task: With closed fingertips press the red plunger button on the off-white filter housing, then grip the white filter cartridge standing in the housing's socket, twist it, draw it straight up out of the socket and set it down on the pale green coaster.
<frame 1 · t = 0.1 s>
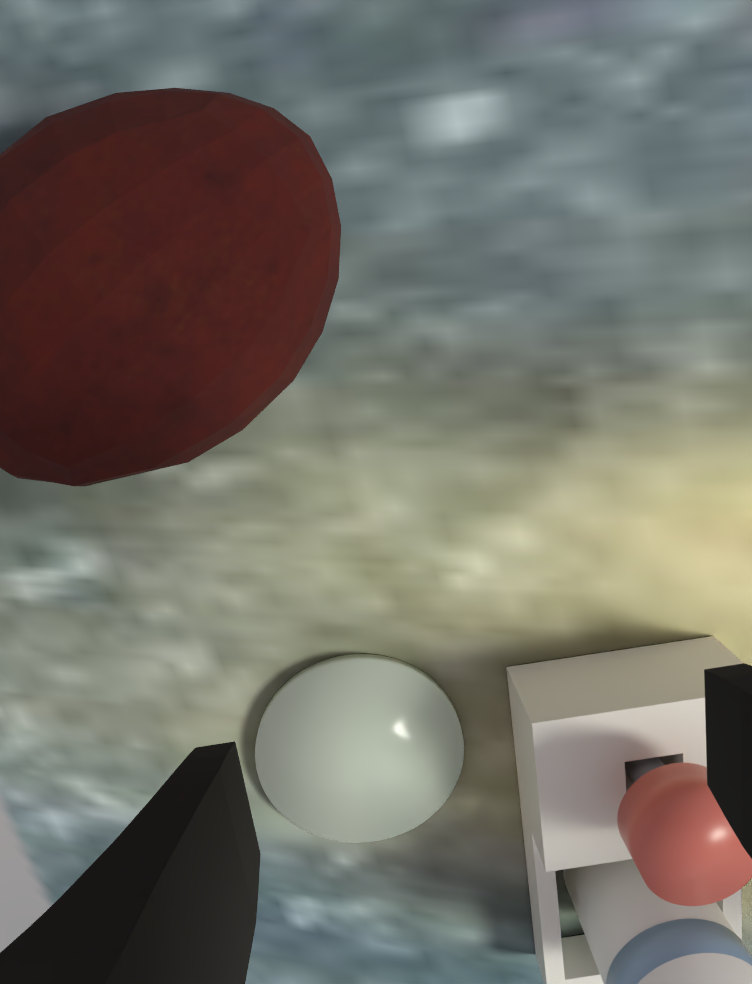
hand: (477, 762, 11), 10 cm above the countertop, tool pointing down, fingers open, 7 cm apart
coaster: (359, 747, 22), on the countertop
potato: (169, 299, 19), on the countertop
housing: (622, 866, 24), on the countertop
plunger: (666, 800, 19), point 4 cm above the countertop, slide at 0.0 cm
cartridge: (622, 865, 24), resting in housing
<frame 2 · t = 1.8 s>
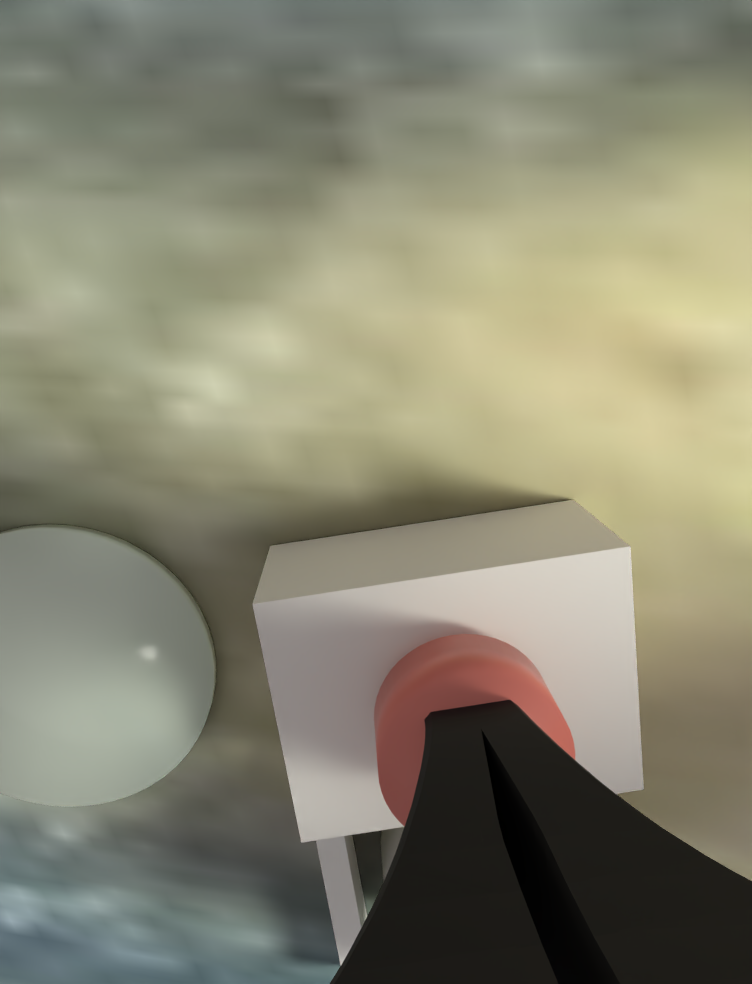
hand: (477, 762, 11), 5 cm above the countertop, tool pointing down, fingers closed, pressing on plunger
coaster: (66, 666, 15), on the countertop
housing: (464, 841, 17), on the countertop
plunger: (457, 699, 12), point 3 cm above the countertop, slide at 0.8 cm, touching gripper
cartridge: (464, 840, 17), resting in housing
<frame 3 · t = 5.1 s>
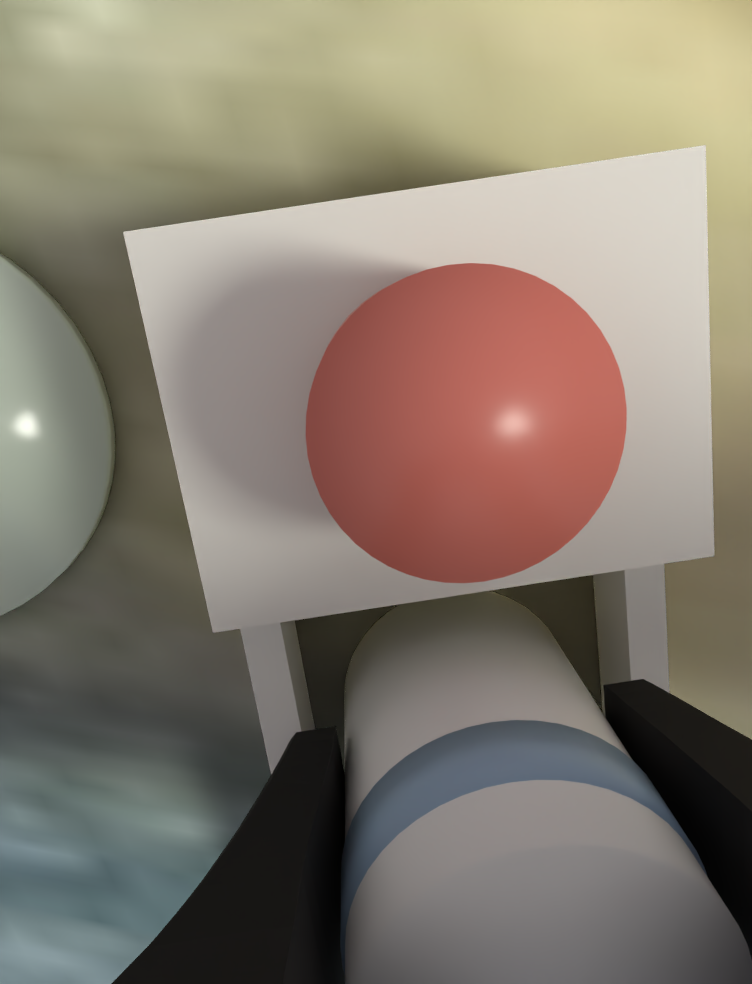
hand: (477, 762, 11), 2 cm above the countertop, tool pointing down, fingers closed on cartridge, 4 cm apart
housing: (456, 692, 13), on the countertop
plunger: (440, 405, 8), point 3 cm above the countertop, slide at 0.8 cm
cartridge: (456, 692, 13), resting in housing, touching gripper
when the fingers open (4 cm above the countertop, at t = 8.8 s): cartridge drops 1 cm, resting on coaster.
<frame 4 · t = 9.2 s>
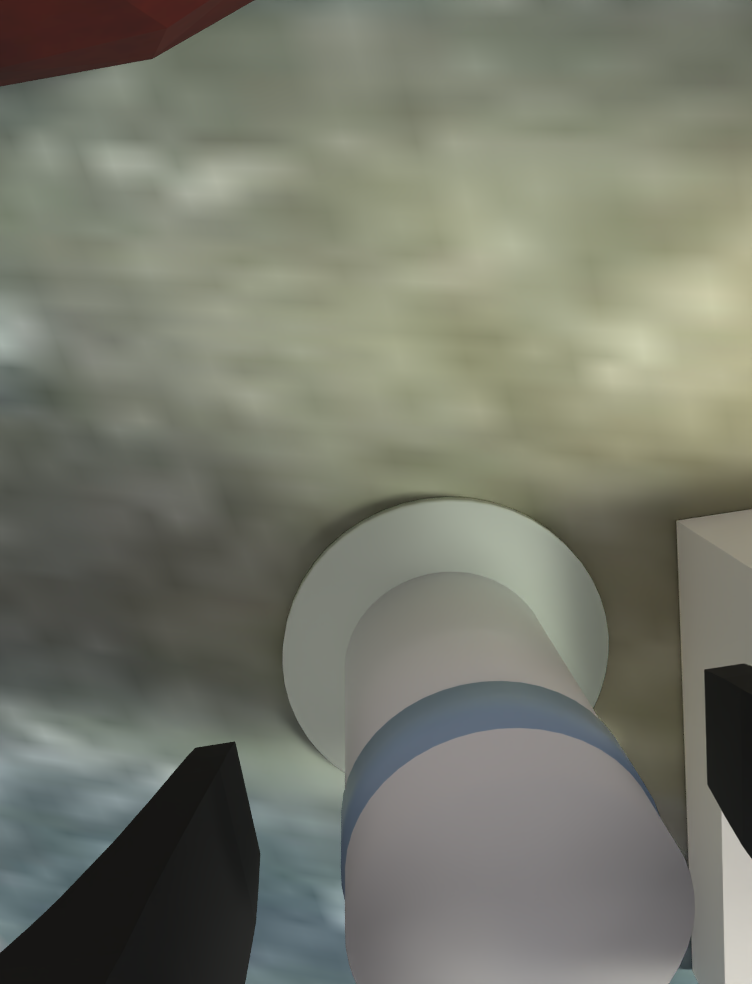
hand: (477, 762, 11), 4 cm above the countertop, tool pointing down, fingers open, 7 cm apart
coaster: (444, 650, 14), on the countertop
cartridge: (446, 667, 14), resting on coaster
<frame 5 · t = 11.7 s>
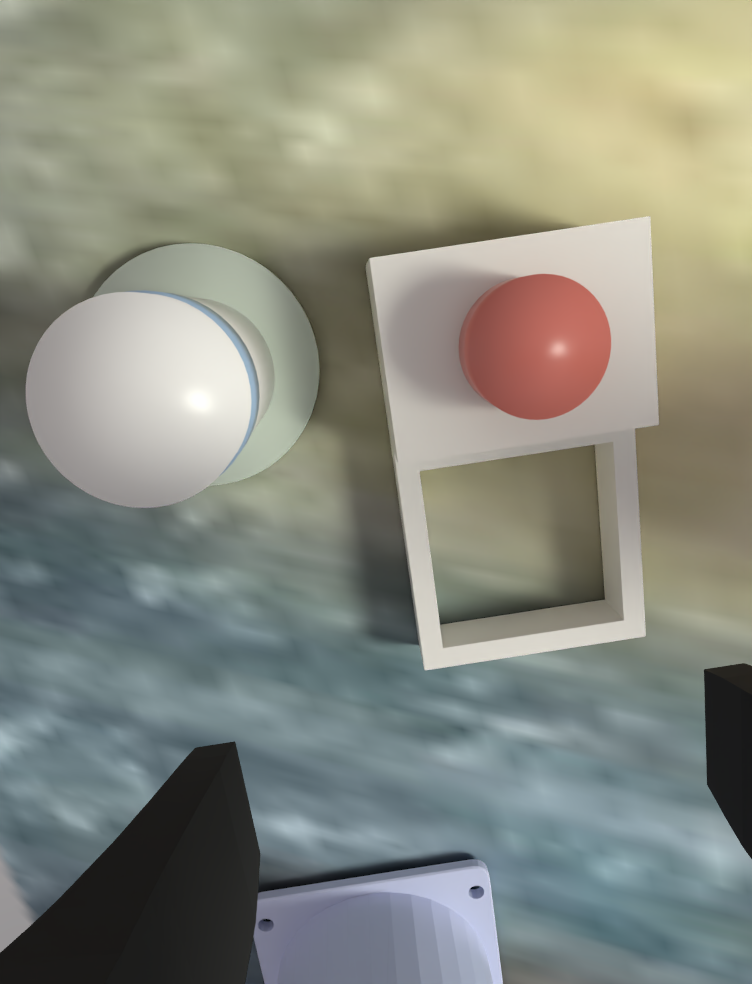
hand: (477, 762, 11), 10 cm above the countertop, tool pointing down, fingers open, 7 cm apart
coaster: (202, 368, 19), on the countertop
housing: (512, 531, 21), on the countertop
plunger: (518, 344, 17), point 3 cm above the countertop, slide at 0.8 cm
cartridge: (199, 375, 19), resting on coaster
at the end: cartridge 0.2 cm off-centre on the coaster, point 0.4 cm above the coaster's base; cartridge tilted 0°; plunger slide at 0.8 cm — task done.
